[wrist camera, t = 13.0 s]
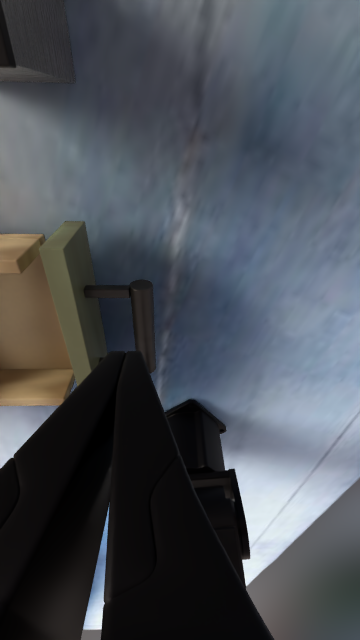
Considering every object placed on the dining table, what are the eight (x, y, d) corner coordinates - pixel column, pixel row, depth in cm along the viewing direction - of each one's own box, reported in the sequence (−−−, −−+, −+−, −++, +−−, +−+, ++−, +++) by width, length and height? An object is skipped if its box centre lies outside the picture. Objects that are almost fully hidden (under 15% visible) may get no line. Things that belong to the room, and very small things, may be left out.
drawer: (153, 221, 17) (148, 249, 14) (158, 371, 25) (156, 413, 21) (-166, 217, 17) (-254, 245, 13) (-61, 372, 24) (-100, 415, 21)
